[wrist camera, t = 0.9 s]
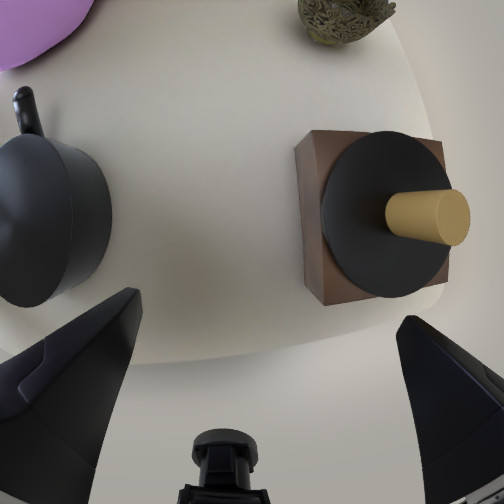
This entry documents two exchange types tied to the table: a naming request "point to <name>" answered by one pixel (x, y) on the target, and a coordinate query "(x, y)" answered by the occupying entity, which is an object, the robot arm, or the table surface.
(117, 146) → the table surface
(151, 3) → the table surface
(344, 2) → the cup
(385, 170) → the lid
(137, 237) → the table surface
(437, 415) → the robot arm
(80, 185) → the black saucepan
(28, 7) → the teapot
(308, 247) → the trivet block
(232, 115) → the table surface
